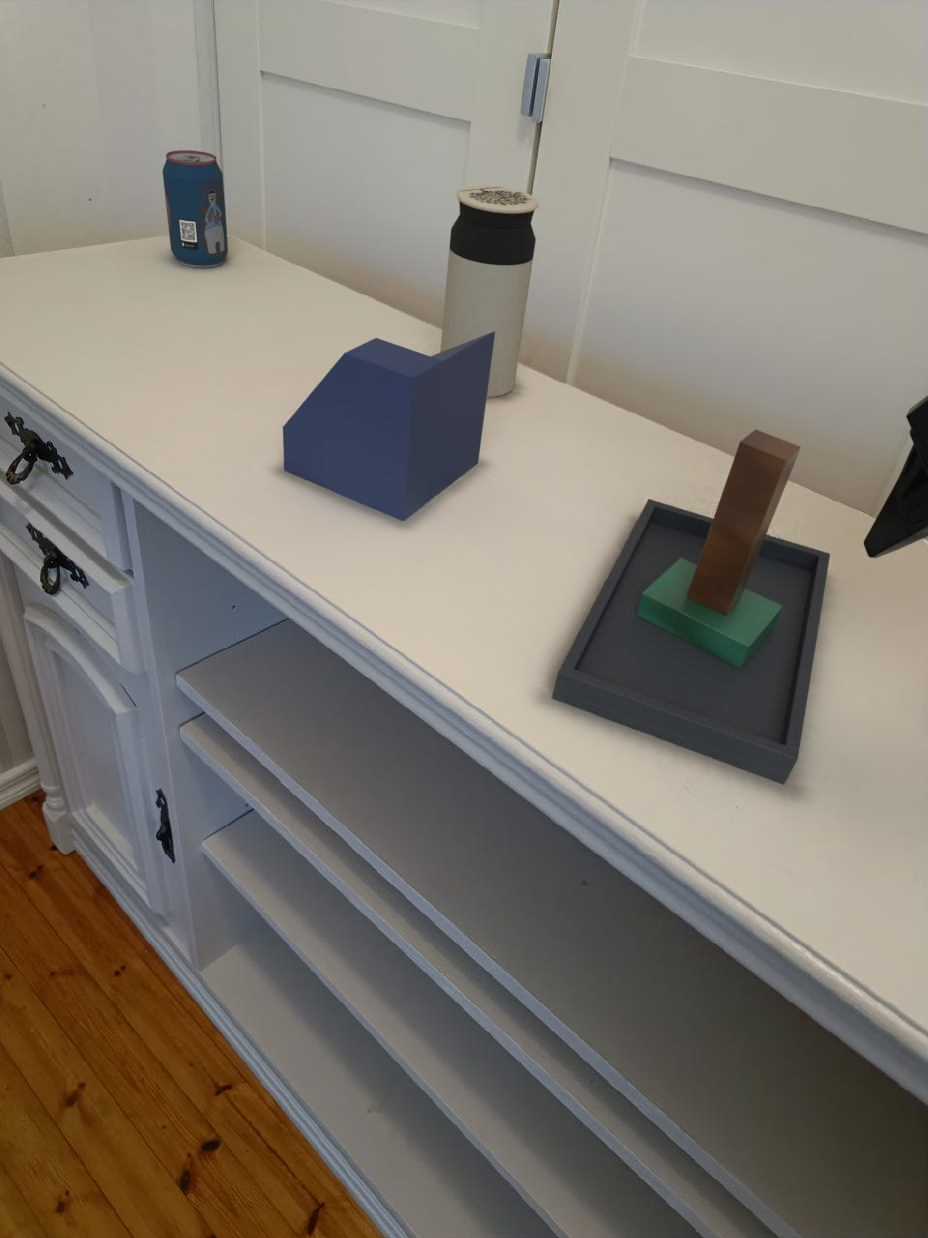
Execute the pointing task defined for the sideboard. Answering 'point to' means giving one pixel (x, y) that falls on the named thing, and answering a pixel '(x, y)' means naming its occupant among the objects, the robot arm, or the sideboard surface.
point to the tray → (700, 652)
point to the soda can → (195, 208)
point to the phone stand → (392, 424)
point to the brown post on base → (727, 560)
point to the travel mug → (490, 276)
